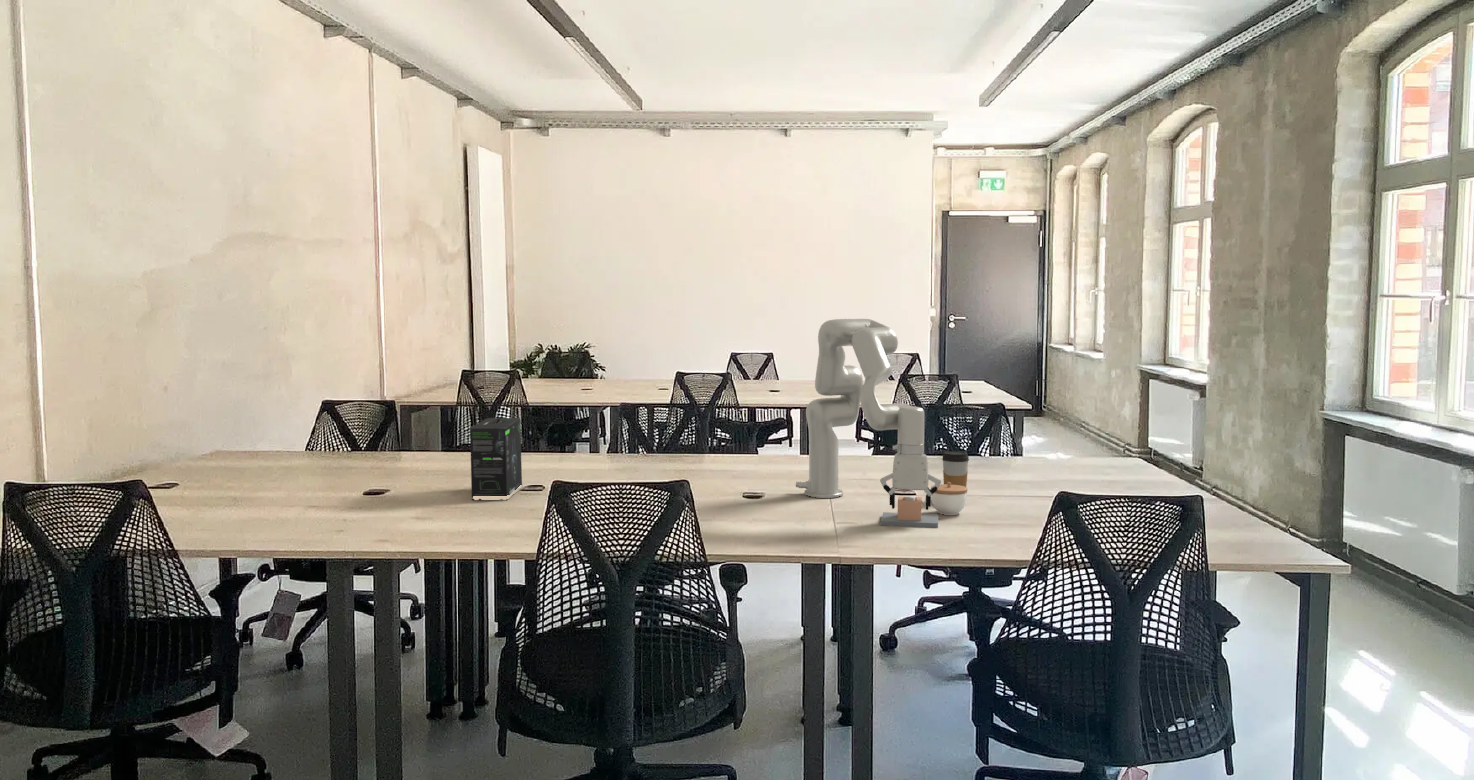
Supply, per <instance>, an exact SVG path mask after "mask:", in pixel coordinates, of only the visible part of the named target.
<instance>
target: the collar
mask: <svg viewBox="0 0 1474 780" xmlns="http://www.w3.org/2000/svg"><path fill="white" fill-rule="evenodd" d="M905 497H906V496H903V495H902V496H900V495H899V496H898V498H897V513H898V520H919V521H921V514H922V500H923V498H922V496H914V497H915V500H905Z"/></svg>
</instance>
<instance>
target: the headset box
mask: <svg viewBox="0 0 1474 780" xmlns="http://www.w3.org/2000/svg"><path fill="white" fill-rule="evenodd" d="M521 424H522V423H521V418H520V417H512V418H510V417H509V418H507V417H504V418H503V415H501V416H499V417H488V418H485V419H483V420H481V421H480V422H478V423H476V424H474V425H472V426H471V427H470V428H469V438H470V441H469V442H470V476H471V477H470V479H471V497H472V496H507V495H510V494H511V493H512V492H513V491H514V490H516V489H517V488H518V487H519V486H520V485H522V486H523V478H522V477H523V476H522V470H523V469H522V437H521V436H522V435H521V434H522V432H521V431H522V430H521Z"/></svg>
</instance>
